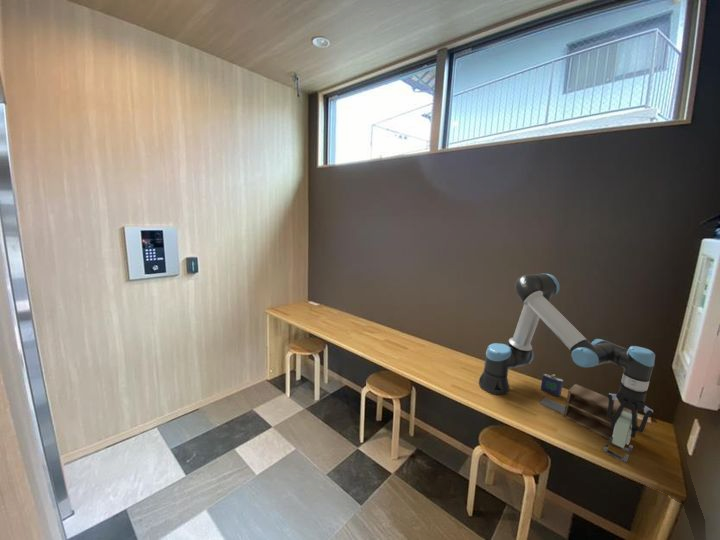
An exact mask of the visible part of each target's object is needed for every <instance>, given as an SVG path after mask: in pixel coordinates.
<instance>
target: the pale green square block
mask: <svg viewBox="0 0 720 540" xmlns="http://www.w3.org/2000/svg"><path fill="white" fill-rule="evenodd" d="M630 427H632V414H630V413H628V412H625V411H623V412H622V414H621V415H620V417H619V418H618V420H617V423H616V427H615V432H614V436H613V440H612V443H613V444H615V445H617V446H619V447H621V448H624V447H626V445H627V444H626V441H627V437H628V438H630V437H631V435H629V434H628V433H629V429H630ZM631 438H632V437H631ZM621 448H620V449H621Z"/></svg>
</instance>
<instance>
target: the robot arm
mask: <svg viewBox="0 0 720 540" xmlns="http://www.w3.org/2000/svg"><path fill="white" fill-rule="evenodd" d="M514 291H515V294H516V296H517V297H518V299H519V300H520V301H521V303H523V305H522V306H523V307H522V310H521V313H520V315H519V319H518V321H517V325H516V328H515V331H514V333H513V337H510V338H509V339H508V342H507V344H505V343H498V342H496V343H495V342H494V343H491V344H489V345H488V346H487V348H486V351H485V359H484V368H483V372H481V375H480V377H479V379H478V385H479V387H480V388H481V389H483V390H484V391H486V392H487V393H488V394H489V393H490V394H492V395H497V396H503V395H507V394H508V393H509V392H510V384H509V379H508V375H509V370H510V369H515V368H519V367H525V366H527V365H529V364H531V363H532V361H534V356H535V355H534V352H533V346H532V340H533V338H534V334H535V332H536V329H537V327H538V323H539V321H540V320H542V322H543V323H544V324H545V325H546V326H547V327H548V328H549V329H550V330H551V331H552V333H554V335H556V337H557V338H558V339H559V340H560V341H561V342H562V343H563V344H564V345H565V347H567V348H568V350H570V352H571V359H572V361H573V363H574V364H576V365H577V366H578V367H581V368H593V367H596V366H600V365H604V364H610V363H611V364H612V365H616V366H618V367H621V368H623V373H622V377H621V383H620V385H619V389H618V392H617V393H612V392H609V393H608V394H607V397H608V399H609V404H608V411H607V417H608V418H610V419H611V420H612V423H611V428H613V429H614V431H613V435H612V437H613V436H614V432H615V427H616V423H617V419H618V417H619V416H620V414H621V412H622V410H623V409H624V408H628V409H629V410H631V413H632V427H630V429H629V433H628V434H629V435H631V437H630V438H628V437H627V441H626V444H625V445H627V446H628V445H630V443H631V438H632V439H635V438H636V435H637V432H638V433H644V431H645V429H646V426H647V423H648V420H649V417H651V416H652V414H653V413H654V409H653V408H649V406H647V405H646V402H645V401H646V397H647V393H648V392H647V391H648V388H649V386H650V382H651V381H650V380H651V378H652V377H651V376H652V372H653V369H654V367H655V360H656V354H655V352H653V351H652V350H650V349H649V348H645V347H641V346H637V345H630V347H628V348H626V347H624V346H620V345H618V344H615V343H613V342H610V341H608V340H604V339H601V338H595V339H594V340H593V341H591V342H590V341H589V340H588V339H587V338H586V336H584V335H583V334H582V333H581V332H580V331H579V330H578V329H577V328H576V327H575V326H574V325H573V324H572V323H571V322H570V321H569V320H568V319H567V318H566V317H565V316H564V315H563V314H562V313H561V312H560V311H559V309H557V308H556V307H555V306H554V305H553V304H552V303H551V298H552V297H555V296H556V295H557V294H558V293H559V292H560V282H559V281H558V279H557V278H556V277H555V276H554V275H553V274H550V273H532V274H531V273H530V274H524V275H521V276H519V277H518V278H517V279H516V281H515V283H514ZM616 398H617V399H618V401H619V402H620V404H621V405H620V406H619V408H618V410H617V412H616V414H615V415H614V416H613V415H612V413H613V406H614V400H615V399H616ZM641 409H643V413H644V415H643V417H642V420H641V423H640V425H639V424H638V422H639V421H638V411H639V410H641ZM638 425H639V426H638Z"/></svg>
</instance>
